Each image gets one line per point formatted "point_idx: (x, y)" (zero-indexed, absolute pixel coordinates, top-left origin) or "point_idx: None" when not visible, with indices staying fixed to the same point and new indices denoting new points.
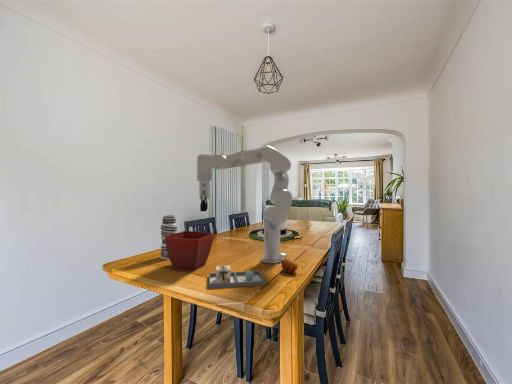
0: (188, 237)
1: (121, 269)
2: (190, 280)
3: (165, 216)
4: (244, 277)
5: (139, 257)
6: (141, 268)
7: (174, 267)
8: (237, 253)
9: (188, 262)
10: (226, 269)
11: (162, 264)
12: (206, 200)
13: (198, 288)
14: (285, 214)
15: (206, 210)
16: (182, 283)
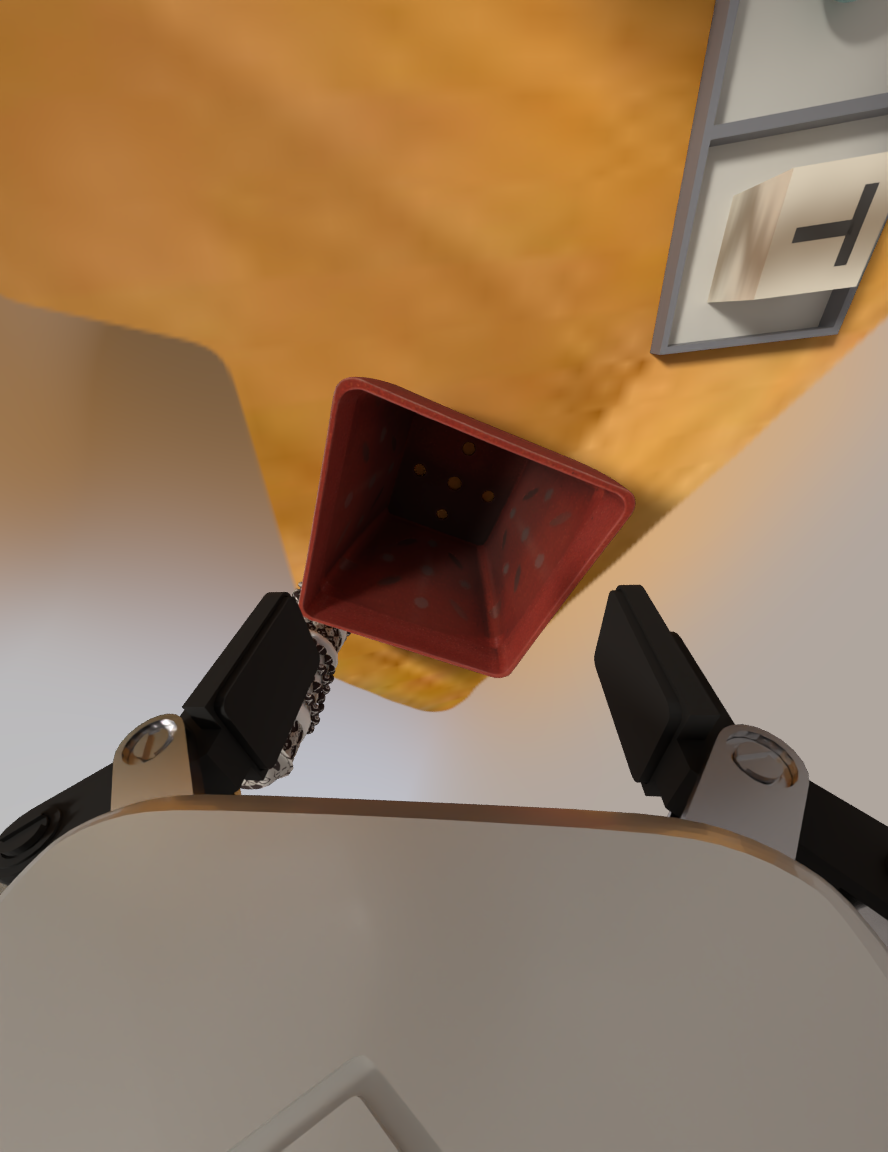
0: (324, 568)
1: (480, 677)
2: (657, 445)
3: (270, 783)
4: (772, 26)
5: (352, 668)
6: None
7: (490, 540)
8: (117, 132)
9: (538, 492)
10: (885, 194)
11: None
12: (198, 775)
13: (777, 391)
14: None
15: (643, 590)
16: (681, 473)
